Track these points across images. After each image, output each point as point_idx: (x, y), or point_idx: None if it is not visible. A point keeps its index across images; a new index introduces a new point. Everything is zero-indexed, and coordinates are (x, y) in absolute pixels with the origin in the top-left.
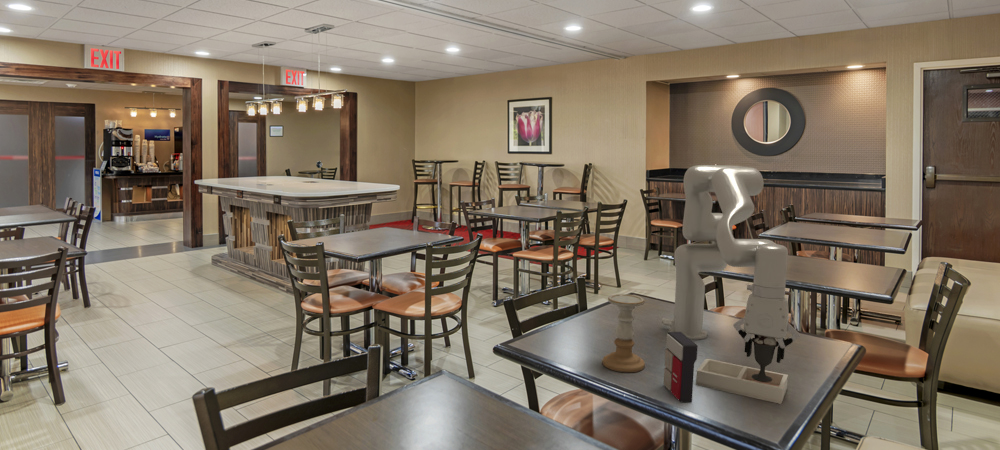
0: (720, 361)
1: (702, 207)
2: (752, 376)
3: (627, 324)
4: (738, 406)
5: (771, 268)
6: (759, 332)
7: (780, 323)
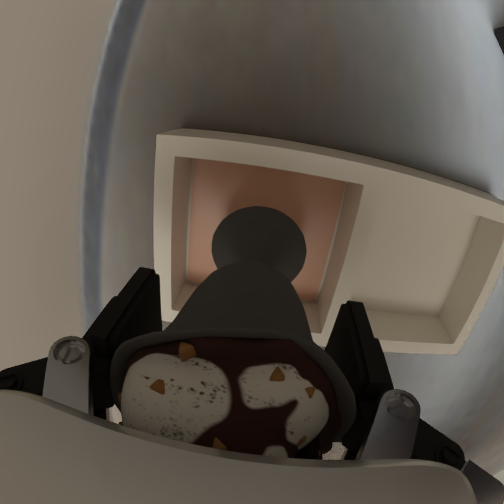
0: (417, 351)
1: None
2: (303, 247)
3: None
4: (348, 29)
5: None
6: (287, 496)
7: None
